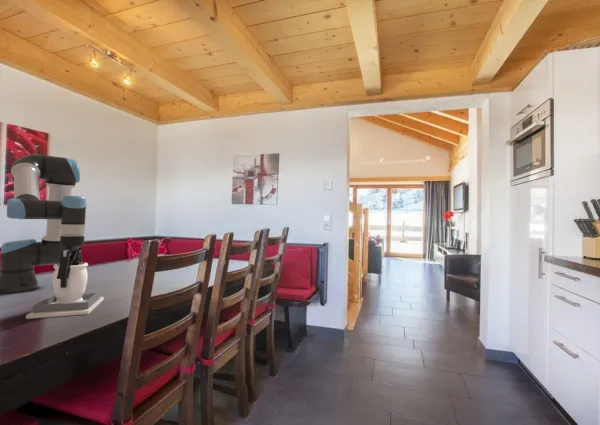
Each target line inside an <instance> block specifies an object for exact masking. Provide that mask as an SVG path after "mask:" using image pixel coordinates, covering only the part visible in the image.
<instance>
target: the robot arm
mask: <svg viewBox="0 0 600 425" xmlns="http://www.w3.org/2000/svg"><path fill="white" fill-rule="evenodd" d="M10 168H11V169H10V174H11V176H12V177H13V198H9V199H8V200H7V201H6V204H7V205H6V217H7V218H9V219H17V220H18V219H19V220H46V233H45V235H44V236H42V237H41V241H37V240H36V239H34V238H29V239H18V240H11V241H7V242H4V243H2V245H1V248H0V294H12V293H21V292H28V291H32V290H35V289H38V288H39V282H38V278H37V276H36V273H35V267H39V266H51V265H52V266H54V265H55V264H59V270H58V276H57V279H60V289H59V297H61V296H69V283H70V278H69V274H70V266H74V265H79V262H83V258H82V257H83V256H82V251H83V249H82V248H83V247H81V246H84V245H85V237H86V236H85V234H86V213H87V212H86V210H87V198H86V196H80V195H72V189H74V188H75V187H76V184H77V183H80V182H81V181H80V180H81V170H80V165H79V163H78V161H77V160H76V159H72V158H67V157H61V156H55V155H54V156H52V155H45V154H37V153H36V154H34V153H33V154H28V155H24V156H22V157H20V158H18V159H16V160H15V161H14V162H13V163H12V165H11V167H10ZM39 180H45V185H47V187H48V200H47V199H46V200H45V199H44V200H43V199H41V197H40V188H39V187H40V186H39Z"/></svg>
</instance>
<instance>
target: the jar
mask: <svg viewBox="0 0 600 425" xmlns="http://www.w3.org/2000/svg"><path fill="white" fill-rule="evenodd" d="M88 266H89V263H88V262H83V261H82V262H79V265H74V266H70V274H69V278H70V283H69V296H61V297H59V289H60V279H57V276H58V270H59V264H54V265H53V269H55V270H54V272H53V275H52V276H53V277H52V288H53V295H55V297H56V299H57V301H56V302H55V304H57V303H73V302H82V301H83V298H82V296H83V294H84V293H86V292H85V291H86V288H87V283H88V277H89V276H88V270H87V267H88Z"/></svg>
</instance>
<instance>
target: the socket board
mask: <svg viewBox="0 0 600 425" xmlns="http://www.w3.org/2000/svg"><path fill="white" fill-rule="evenodd" d="M82 298H83V301H82V302H73V303H57V304H55V302H56V301H57V299H56V297H55V294H51V295H49V296H48V297H46V298H43V300H41V301H39V302H37V303H36V304H34V305H32V311H31V312H29V313H27V314H26V315H25V319H26V320H28V319H39V318H42V319H43V318H51V317H52V318H54V317H57V318H58V317H65V316H66V317H67V316H81V315H83V316H84V315H90V313H91V312H92V311H93V310H94V309H96V308H97V307H98V306H99V305H100V303H102V302H103V301H104V299H105V297H104V296H101V292H84V294H83V296H82Z"/></svg>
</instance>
